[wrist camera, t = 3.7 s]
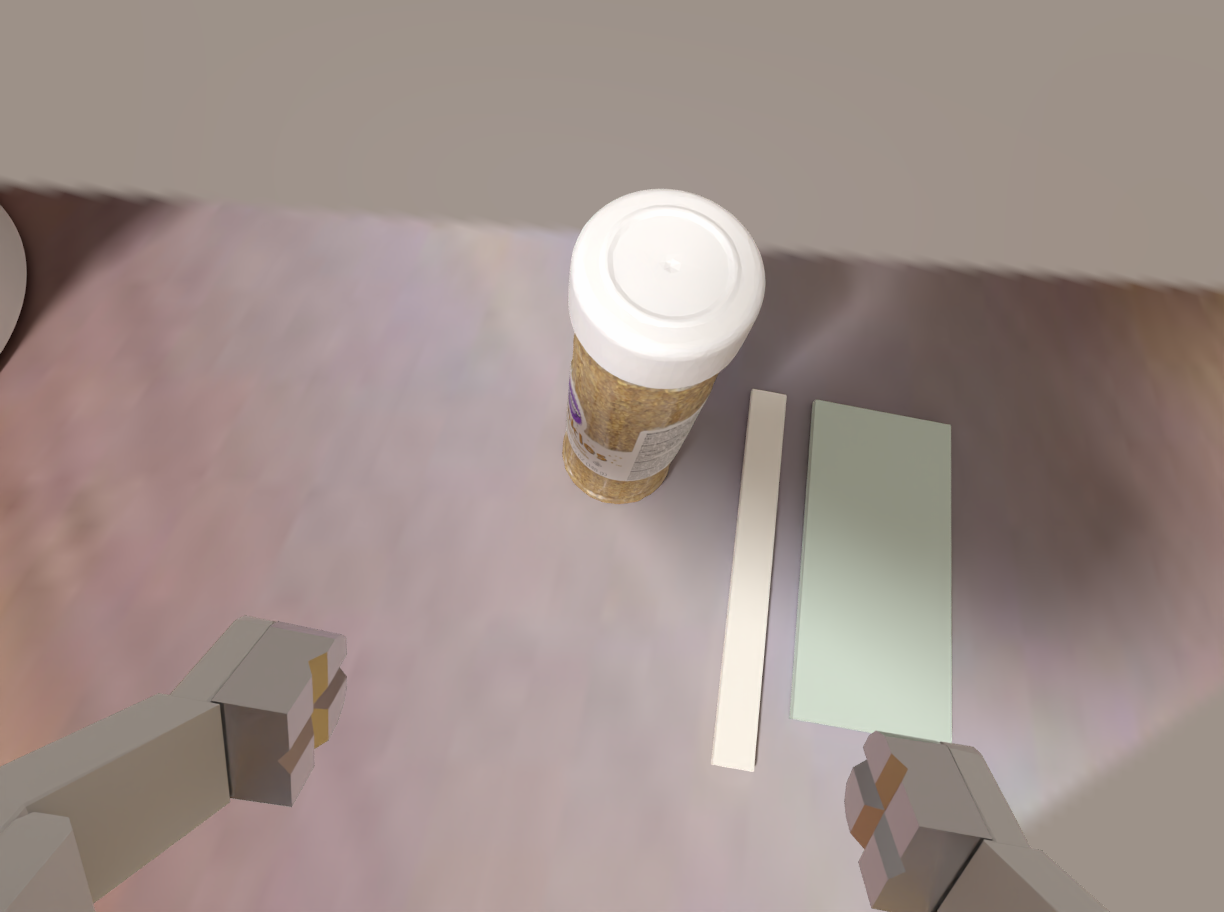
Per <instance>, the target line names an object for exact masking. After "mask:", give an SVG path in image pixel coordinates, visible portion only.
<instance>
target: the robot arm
mask: <svg viewBox="0 0 1224 912" xmlns="http://www.w3.org/2000/svg"><path fill="white" fill-rule="evenodd" d="M26 278H27V269H26V258H25V252H24V248H23V244H22V241H21V238H20V235H19V233H18V231H17V229H16V227H15V225H14V223H13V221H12V220H11V218H10V217H9V215H8V214H7V212H6V211H5V210H4V209H3V207H2V206H1V205H0V353H1V352H2V350H3V349H4V347H5V345H6V343H7V342H8V340H9V338H10V336H11V334H12V332H13V330H14V328H15V325H16V323H17V320H18V317H19V315H20V311H21V308H22V305H23V300H24V296H25V289H26ZM346 655H347V644H346V637H345V636H343V635H342V634H337V633H332V632H327V631H323V630H318V629H313V628H308V627H303V626H298V625H293V624H289V623H284V622H279V621H278V622H275V621H270V620H266V619H261V618H256V617H251V616H247V615H245V616H243V617H241V618H239V619H237V620H235V621H234V622H233V623H232V624H231V625H230V626H229V628H228V629H227V630H226V631H225V632H224V633H223V634H222V636H221V637H220V638H219V639H218V640H217V641H216V642H215V644H214V645H213V646H212V647H211V648H210V649H209V650H208V651H207V653H206V654H205V655H204V656H203V657H202V658H201V659H200V661H199V662H198V663H197V664H196V665H195V666H194V667H193V669H192V670H191V671H190V672H189V673H188V674H187V675H186V676H185V678H184V679H183V680H182V681H181V682H180V683H179V684H178V686H177V687H176V688H175V689H174V690H173V691H172V692H171V694H170V695H167V694H160V693H158V694H156V695H154V696H152V697H150V698H147V699H145V700H143V701H141V702H139V703H137V704H134V705H132V706H130V707H128V708H126V709H124V710H122V711H119V712H117V713H115V714H113V715H111V716H109V717H106V718H104V719H102V720H100V721H98V722H96V723H93V724H91V725H89V726H87V727H85V728H83V729H81V730H78V731H76V732H74V733H72V734H70V735H68V736H65V737H63V738H61V739H59V740H57V741H55V742H52V743H50V744H48V745H46V746H44V747H42V748H39V749H37V750H35V751H33V752H31V753H29V754H27V755H24V756H22V757H20V758H18V759H16V760H14V761H11V762H9V763H7V764H5V765H3V766H1V767H0V912H96V911H95V907H94V903H95V902H96V901H98V900H99V899H100V898H102V897H103V896H104V895H106V894H107V893H108V892H110V891H111V890H112V889H114V888H115V887H116V886H118V885H119V884H121V883H122V882H123V881H125V880H126V879H127V878H129V877H130V876H131V875H133V874H134V873H135V872H137V871H138V870H139V869H141V868H142V867H143V866H145V865H146V864H147V863H149V862H150V861H151V860H153V859H154V858H156V857H157V856H158V855H160V854H161V853H162V852H164V851H165V850H166V849H168V848H169V847H170V846H172V845H173V844H174V843H176V842H177V841H178V840H180V839H181V838H182V837H184V836H185V835H187V834H188V833H189V832H191V831H192V830H193V829H195V828H196V827H197V826H199V825H200V824H201V823H203V822H204V821H205V820H207V819H208V818H209V817H211V816H212V815H213V814H215V813H216V812H217V811H219V810H220V809H222V808H223V807H224V806H226V805H227V804H228V803H230V798H233V799H239V800H246V801H253V802H260V803H267V804H274V805H281V806H288V807H292V806H293V804H294V802H295V801H296V799H297V797H298V795H299V793H300V792H301V790H302V788H303V786H304V784H305V783H306V781H307V779H308V777H309V775H310V773H311V772H312V770H313V768H314V749H316V748H317V747H319V746H320V745H322V744H324V743H325V742H327V741H328V740H329V739H330V737H331V735H332V733H333V731H334V729H335V727H336V725H337V723H338V720H339V717H340V714H341V711H342V708H343V706H344V701H345V695H346V690H347V676H346V675H345V674H344V672H343V671H342V670H341V669H340V665H341V664H342V662H343V660H344V659H345V657H346ZM863 749H864V752H865V755H866V758H867V760H865V761H864V762H862V763H860V764H858V765H857V766H855V767H853V769H852V771H851V774H850V776H849V778H848V781H847V783H846V792H845V801H844V802H845V812H846V819H847V822H848V826H849V830H850V833H851V834H852V835H853V837H854V838H855V839H856V840H857V841H858V842H859V843H860V845H861V846H862V847H863V848H864V851H863V853H862V855H861V857H860V859H859V862H858V863H859V866H860V870H861V873H862V877H863V880H864V884H865V887H866V891H867V895H868V898H869V902H870V905H871V908H872V909H877V910H882V911H887V912H1110V911H1109V910H1107V908H1105V907H1104V906H1103V905H1102V904H1101V903H1100V902H1099V901H1098V900H1096V899H1095V898H1094V897H1093V896H1092V895H1091V894H1090V893H1089V892H1088V891H1086V890H1085V889H1084V888H1083V887H1082V886H1081V885H1080V884H1079V883H1078V882H1077V881H1075V880H1074V879H1073V878H1072V877H1071V876H1070V875H1069V874H1068V873H1067V872H1065V871H1064V870H1063V869H1062V868H1061V867H1060V866H1059V865H1058V864H1056V863H1055V862H1054V861H1053V860H1052V859H1051V858H1050V857H1049V856H1048V855H1046V854H1045V853H1044V852H1043V851H1042V850H1039V849H1034V848H1031V847H1030V845H1029V843H1028V841H1027V839H1026V837H1025V835H1024V833H1023V831H1022V830H1021V828H1020V826H1019V824H1018V822H1017V820H1016V818H1015V816H1014V814H1013V813H1012V811H1011V809H1010V807H1009V805H1008V803H1007V801H1006V799H1005V798H1004V796H1003V794H1002V792H1001V790H1000V788H999V786H998V784H997V783H996V781H995V779H994V777H993V775H992V773H991V771H990V769H989V767H988V766H987V764H986V762H985V760H984V758H983V756H982V755H981V753H980V752H979V751H978V750H976V749H975V748H974V747H971V746H965V745H959V744H953V743H947V742H938V741H935V740H929V739H923V738H917V737H911V736H906V735H900V734H894V733H888V732H882V731H874V732H873V733H872V734H871V735H869V737H868V738H867V740H866V742H865V744H864V746H863Z"/></svg>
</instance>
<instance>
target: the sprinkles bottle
mask: <svg viewBox="0 0 1224 912" xmlns="http://www.w3.org/2000/svg"><path fill="white" fill-rule="evenodd" d="M765 286H766V281H765V270H764V264H763V261H762V257H761V254H760V251H759V249H758V247H757V245H756V243H755V241H754V239H753V238H752V236H751V235H750V233H749V232H748V230H747V229H746V228H745V227H744V226H743V224H742V223H741V222H740V221H739V220H738V219H737V218H736V217H734V216H733V215H732V214H731V213H730V212H728V211H727V210H726V209H724V208H723V207H721V206H719V205H718V204H717V203H715V202H713V201H711V200H709V199H707V198H704V197H702V196H699V195H696V194H693V193H689V192H686V191H680V190H674V189H650V190H642V191H638V192H634V193H630V194H627V195H624V196H622V197H620V198H617V199H615V200H614V201H612V202H610V203H608V204H607V205H606V206H604V207H603V208H601V209H600V210H599V211H598V212H597V213H596V214H594V215H593V216H592V218H591V219H590V220H589V221H588V222H587V223H586V224H585V226H584V227H583V229H582V231H581V233H580V235H579V237H578V239H577V241H576V244H575V246H574V249H573V253H572V258H571V266H570V276H569V291H568V307H569V314H570V319H571V323H572V326H573V329H574V332H575V335H574V341H573V344H574V349H573V359H572V361H571V365H570V378H569V393H568V403H567V414H566V429H567V430H566V433H565V436H564V441H563V452H562V454H563V460H564V464H565V469H566V471H567V472H568V474H569V476H570V477H571V479H572V481H573V482H574V483H575V484H576V486H578V487H579V488H580V489H581V490H582V491H583V492H585V493H586V494H587V495H589V496H590V497H592V498H594V499H597V500H599V501H602V502H605V503H614V504H624V503H631V502H637V501H640V500H641V499H643V498H644V497H646V496H648V495H650V494H651V493H653V492H654V491H655V490H656V489H657V488H658V487H659V486H660V485H661V484H662V482H663V480H664V479H665V477H666V476H667V473H668V470H669V465H670V463H671V461H672V460H673V459H674V457H675V456H676V454H677V453H678V451H679V449H680V447H681V446H682V444H683V442H684V440H685V439H686V437H687V435H688V433H689V431H690V429H691V428H692V426H693V424H694V422H695V420H696V418H697V416H698V415H699V413H700V411H701V409H702V407H703V406H704V404H705V402H706V400H707V398H708V396H709V394H710V392H711V390H712V387H713V384H714V382H715V380H716V378H717V375H718V374H719V372H720V371H721V370H723V369H724V368H725V367H726V366H727V365H728V364H729V363H730V362H731V361H732V360H733V358H734V357H735V356H736V354H737V353H738V351H739V350H740V348H741V346H742V345H743V343H744V341H745V339H746V337H747V336H748V334H749V332H750V330H751V328H752V326H753V324H754V322H755V320H756V318H757V316H758V314H759V311H760V309H761V306H762V303H763V299H764V294H765Z"/></svg>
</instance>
